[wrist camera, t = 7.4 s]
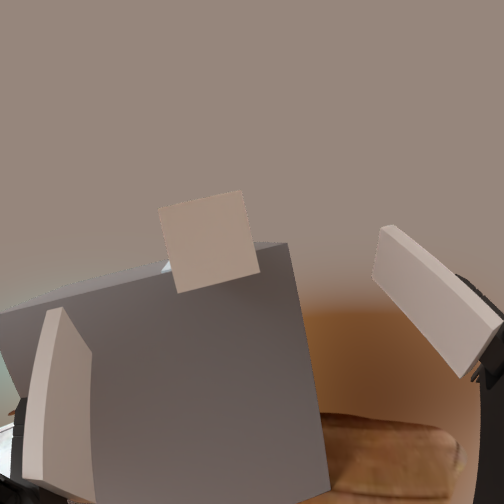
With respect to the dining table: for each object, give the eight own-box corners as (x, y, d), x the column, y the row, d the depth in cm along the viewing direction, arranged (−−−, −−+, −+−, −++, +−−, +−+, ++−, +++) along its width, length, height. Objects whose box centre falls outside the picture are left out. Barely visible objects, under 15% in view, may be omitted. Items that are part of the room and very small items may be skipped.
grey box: (330, 489, 25) (286, 240, 23) (117, 534, 20) (-12, 315, 17) (279, 411, 44) (238, 241, 42) (130, 446, 39) (65, 284, 37)
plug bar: (260, 272, 11) (241, 189, 11) (177, 293, 10) (157, 208, 10) (205, 250, 38) (199, 226, 38) (182, 255, 37) (176, 232, 37)
